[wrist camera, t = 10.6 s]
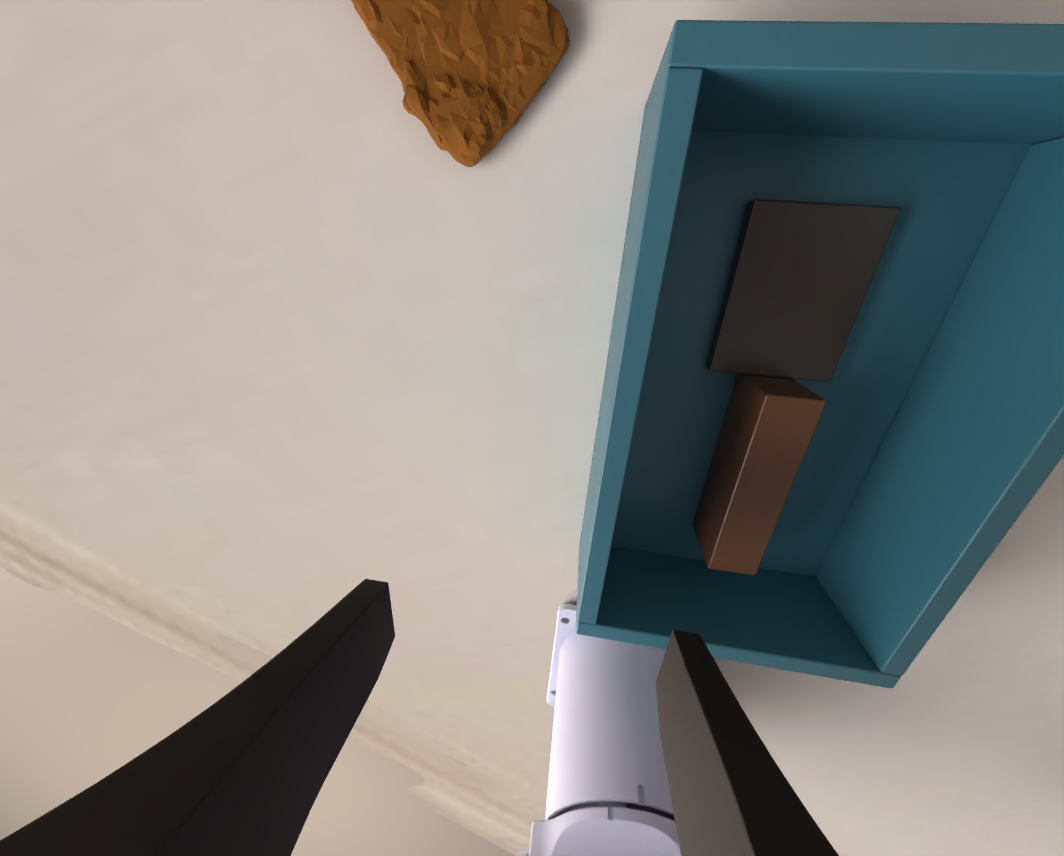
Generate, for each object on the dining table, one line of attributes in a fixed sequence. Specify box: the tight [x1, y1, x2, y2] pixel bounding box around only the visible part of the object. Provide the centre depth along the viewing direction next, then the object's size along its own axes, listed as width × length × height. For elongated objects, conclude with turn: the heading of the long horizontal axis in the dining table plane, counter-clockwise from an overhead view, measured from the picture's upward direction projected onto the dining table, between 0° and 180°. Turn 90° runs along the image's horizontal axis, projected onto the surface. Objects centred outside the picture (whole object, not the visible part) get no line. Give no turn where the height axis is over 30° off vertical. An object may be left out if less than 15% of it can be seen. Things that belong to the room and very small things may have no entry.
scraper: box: [692, 199, 901, 575], centre depth 15 cm, size 14×5×3 cm, turn 176°
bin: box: [575, 20, 1064, 688], centre depth 14 cm, size 20×13×6 cm, turn 176°
